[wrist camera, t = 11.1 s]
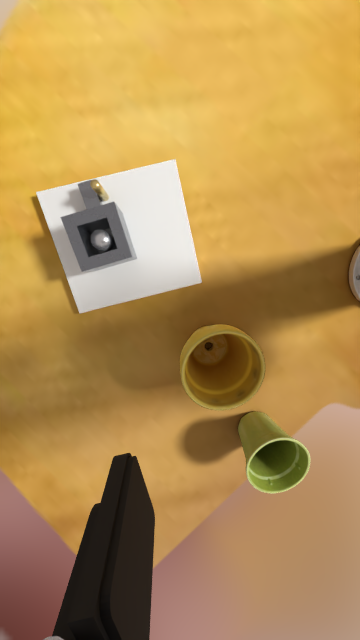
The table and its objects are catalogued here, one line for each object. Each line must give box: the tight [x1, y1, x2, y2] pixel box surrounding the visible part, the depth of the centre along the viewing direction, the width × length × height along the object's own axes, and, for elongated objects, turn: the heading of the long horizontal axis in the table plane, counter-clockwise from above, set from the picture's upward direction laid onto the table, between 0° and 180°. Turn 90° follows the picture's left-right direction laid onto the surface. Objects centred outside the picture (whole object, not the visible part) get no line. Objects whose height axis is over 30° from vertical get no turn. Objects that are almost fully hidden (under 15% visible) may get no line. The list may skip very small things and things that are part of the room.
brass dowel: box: [90, 179, 109, 201], centre depth 27 cm, size 1×1×4 cm
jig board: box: [36, 159, 202, 313], centre depth 31 cm, size 18×16×1 cm
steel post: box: [91, 230, 117, 252], centre depth 28 cm, size 2×2×5 cm
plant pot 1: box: [179, 324, 265, 410], centre depth 31 cm, size 10×10×10 cm
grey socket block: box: [61, 180, 137, 272], centre depth 27 cm, size 10×6×6 cm, turn 16°
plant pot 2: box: [238, 411, 310, 493], centre depth 36 cm, size 9×9×9 cm
